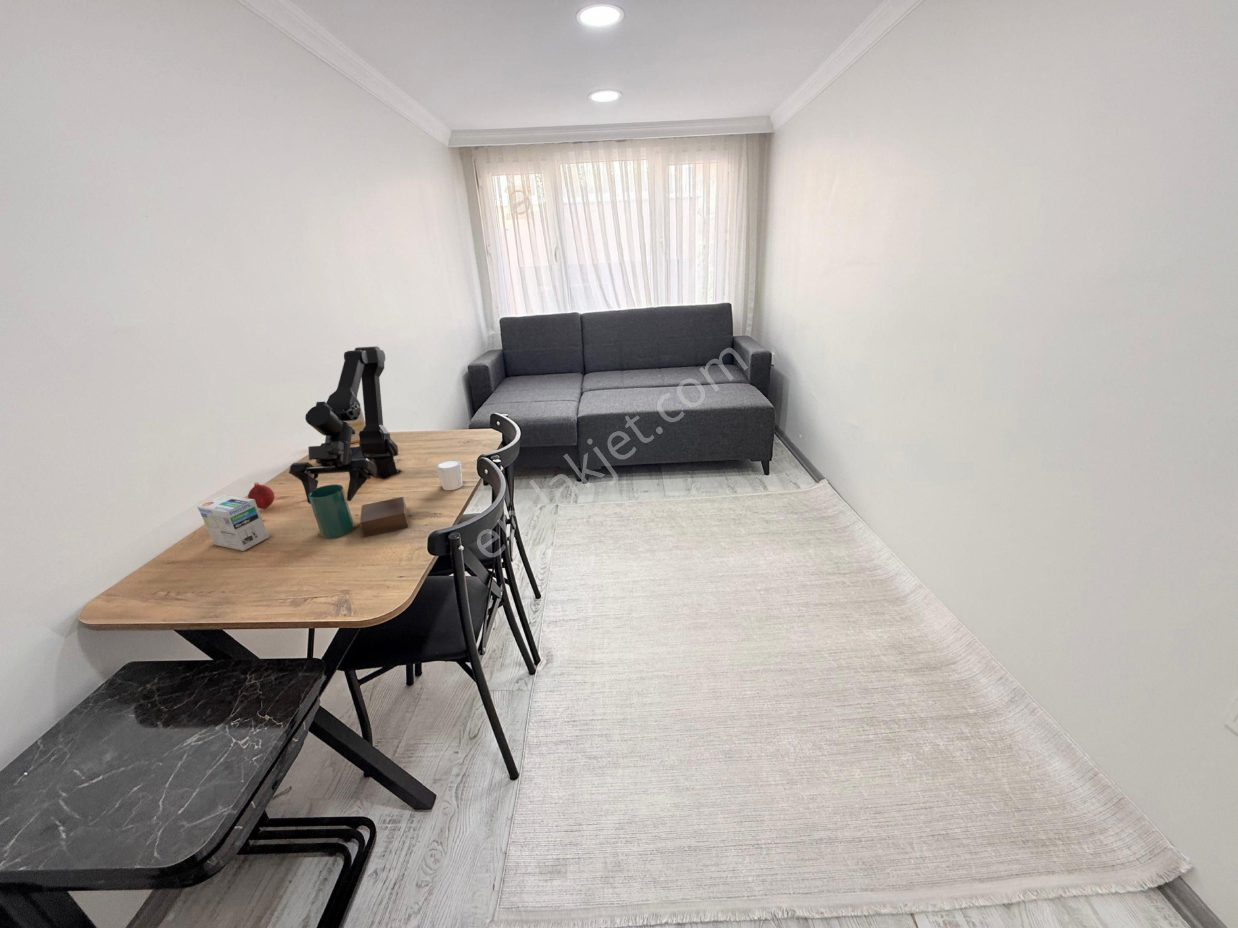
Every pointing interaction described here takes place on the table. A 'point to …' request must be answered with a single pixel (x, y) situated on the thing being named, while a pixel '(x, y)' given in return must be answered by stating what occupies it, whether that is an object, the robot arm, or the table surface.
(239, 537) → the light bulb box
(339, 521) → the cup
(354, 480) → the robot arm
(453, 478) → the white cylinder
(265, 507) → the pomegranate
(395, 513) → the block
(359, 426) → the supplement box
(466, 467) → the table surface
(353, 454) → the dark slate chunk
